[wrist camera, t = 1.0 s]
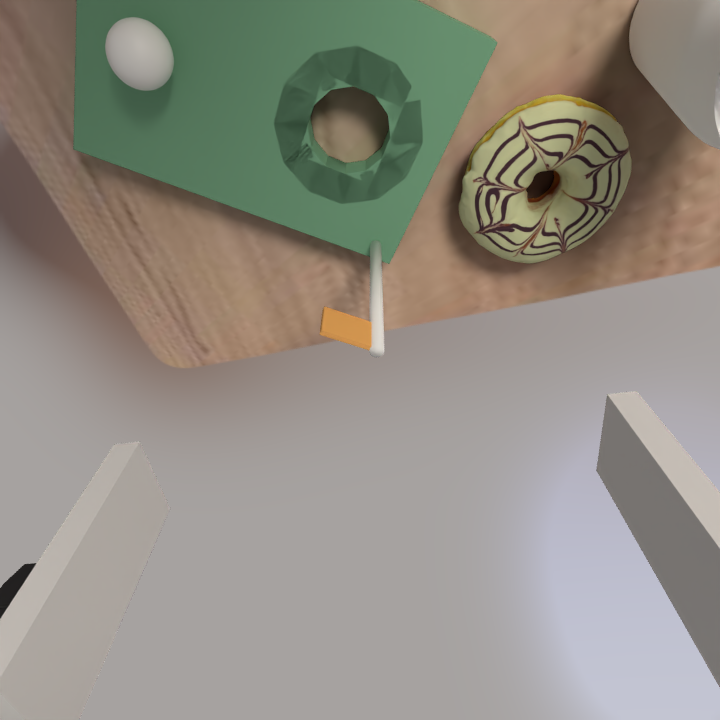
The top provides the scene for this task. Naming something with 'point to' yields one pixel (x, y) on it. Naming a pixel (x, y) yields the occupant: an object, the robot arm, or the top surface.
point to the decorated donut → (536, 154)
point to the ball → (139, 53)
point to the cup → (682, 59)
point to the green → (286, 113)
